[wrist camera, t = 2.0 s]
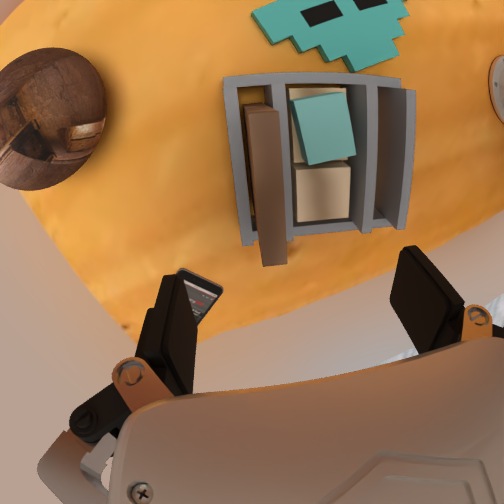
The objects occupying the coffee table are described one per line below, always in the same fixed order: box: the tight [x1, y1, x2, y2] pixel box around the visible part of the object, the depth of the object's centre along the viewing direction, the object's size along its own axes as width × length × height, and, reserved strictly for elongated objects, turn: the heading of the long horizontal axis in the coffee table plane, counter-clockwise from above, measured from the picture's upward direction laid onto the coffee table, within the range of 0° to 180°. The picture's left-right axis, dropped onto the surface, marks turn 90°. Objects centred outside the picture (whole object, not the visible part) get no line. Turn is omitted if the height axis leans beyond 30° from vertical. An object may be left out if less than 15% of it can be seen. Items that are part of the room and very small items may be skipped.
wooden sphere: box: [0, 48, 107, 191], centre depth 21 cm, size 15×15×15 cm
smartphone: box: [176, 268, 223, 326], centre depth 44 cm, size 7×1×15 cm
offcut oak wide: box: [285, 88, 348, 163], centre depth 29 cm, size 6×8×4 cm
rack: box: [223, 72, 416, 246], centre depth 29 cm, size 19×18×7 cm
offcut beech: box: [290, 159, 351, 222], centre depth 33 cm, size 6×6×5 cm
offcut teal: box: [288, 92, 356, 165], centre depth 26 cm, size 5×6×3 cm
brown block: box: [243, 102, 287, 267], centre depth 26 cm, size 2×12×14 cm, turn 6°
